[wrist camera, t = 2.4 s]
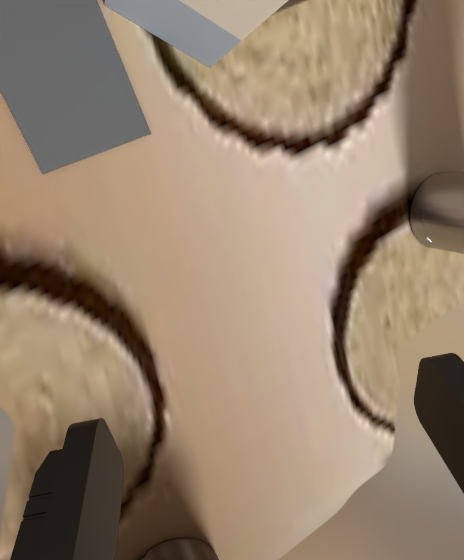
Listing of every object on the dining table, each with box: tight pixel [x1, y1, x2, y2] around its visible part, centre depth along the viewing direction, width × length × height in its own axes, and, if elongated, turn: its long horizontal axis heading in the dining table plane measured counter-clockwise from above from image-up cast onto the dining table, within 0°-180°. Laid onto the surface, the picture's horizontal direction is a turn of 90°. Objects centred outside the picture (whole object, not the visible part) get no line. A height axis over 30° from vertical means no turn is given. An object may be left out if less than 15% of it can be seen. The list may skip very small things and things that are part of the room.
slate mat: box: [0, 0, 151, 174], centre depth 34 cm, size 10×15×1 cm, turn 21°
